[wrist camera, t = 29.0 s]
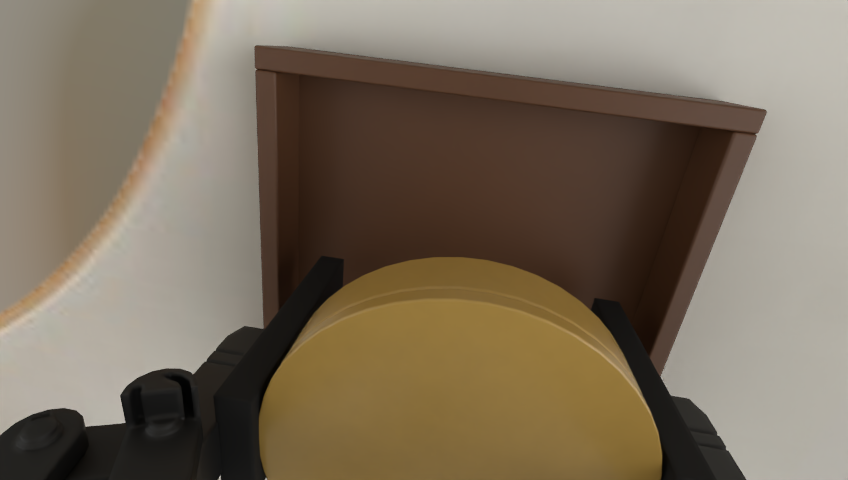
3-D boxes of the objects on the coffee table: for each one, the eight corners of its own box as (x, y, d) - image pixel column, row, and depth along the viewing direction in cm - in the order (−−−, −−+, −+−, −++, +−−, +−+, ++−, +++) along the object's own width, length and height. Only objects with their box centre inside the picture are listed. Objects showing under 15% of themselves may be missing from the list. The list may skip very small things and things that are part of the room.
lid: (576, 553, 12) (591, 631, 11) (286, 493, 13) (257, 559, 11) (689, 294, 9) (736, 348, 7) (294, 224, 9) (254, 260, 8)
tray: (590, 471, 19) (603, 521, 17) (288, 417, 20) (267, 459, 18) (724, 101, 13) (769, 110, 11) (286, 46, 14) (253, 45, 12)
